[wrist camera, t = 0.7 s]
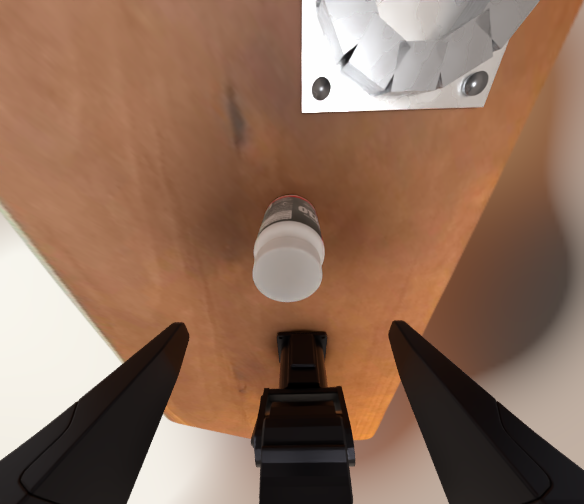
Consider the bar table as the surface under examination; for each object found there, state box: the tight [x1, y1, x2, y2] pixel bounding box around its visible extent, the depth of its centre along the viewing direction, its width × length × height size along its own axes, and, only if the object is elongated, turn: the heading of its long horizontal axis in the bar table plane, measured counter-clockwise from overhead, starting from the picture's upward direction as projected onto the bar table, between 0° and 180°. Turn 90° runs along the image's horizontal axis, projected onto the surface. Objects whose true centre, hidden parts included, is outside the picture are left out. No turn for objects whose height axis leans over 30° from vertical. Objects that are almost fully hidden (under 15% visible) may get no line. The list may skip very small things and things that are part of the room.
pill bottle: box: [253, 195, 325, 302], centre depth 15 cm, size 5×5×8 cm
